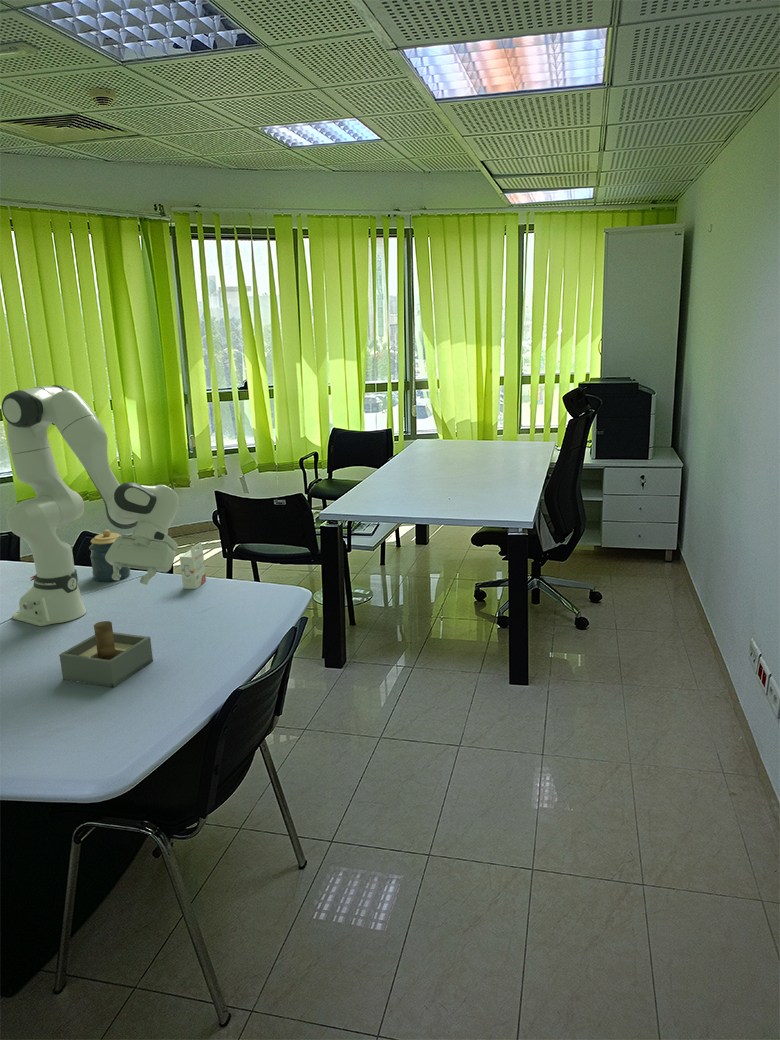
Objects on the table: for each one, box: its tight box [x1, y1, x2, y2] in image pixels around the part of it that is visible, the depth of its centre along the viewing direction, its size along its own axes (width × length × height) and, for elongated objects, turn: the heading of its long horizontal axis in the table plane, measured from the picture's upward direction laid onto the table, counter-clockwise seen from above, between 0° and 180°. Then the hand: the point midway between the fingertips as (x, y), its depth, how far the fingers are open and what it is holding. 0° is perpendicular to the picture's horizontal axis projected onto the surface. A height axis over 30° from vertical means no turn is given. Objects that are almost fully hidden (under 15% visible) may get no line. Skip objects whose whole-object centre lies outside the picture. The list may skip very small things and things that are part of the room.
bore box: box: [58, 631, 154, 689], centre depth 200 cm, size 16×16×7 cm
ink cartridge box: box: [179, 541, 207, 590], centre depth 262 cm, size 9×5×15 cm, turn 169°
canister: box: [88, 529, 131, 583], centre depth 273 cm, size 13×13×18 cm
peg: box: [93, 620, 116, 660], centre depth 199 cm, size 4×4×12 cm
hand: (128, 581), depth 210 cm, fingers open, 8 cm apart
